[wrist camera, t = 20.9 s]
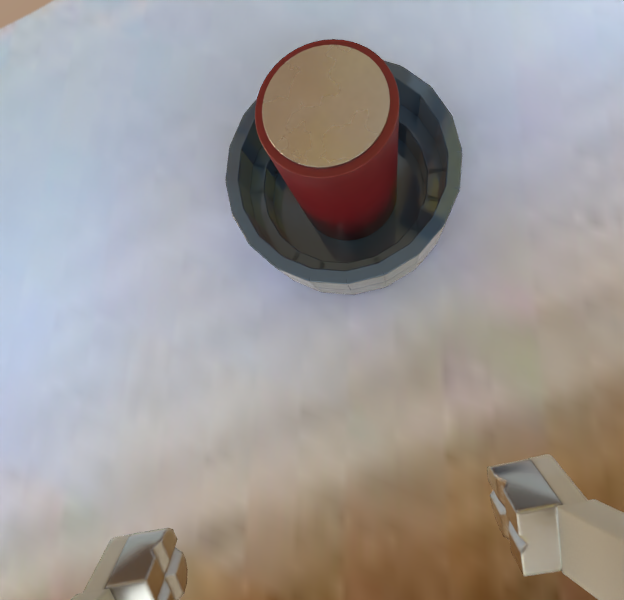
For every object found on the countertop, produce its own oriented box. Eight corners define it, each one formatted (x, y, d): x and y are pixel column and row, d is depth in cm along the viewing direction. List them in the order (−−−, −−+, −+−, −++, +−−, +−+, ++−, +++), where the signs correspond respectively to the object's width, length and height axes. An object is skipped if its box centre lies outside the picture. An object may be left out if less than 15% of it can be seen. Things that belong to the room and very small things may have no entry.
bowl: (313, 332, 31) (297, 328, 26) (220, 173, 34) (188, 139, 28) (490, 225, 30) (511, 198, 25) (380, 68, 32) (378, 12, 27)
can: (332, 258, 31) (298, 204, 20) (286, 182, 32) (228, 90, 21) (415, 207, 30) (429, 120, 19) (364, 131, 32) (349, 8, 20)
